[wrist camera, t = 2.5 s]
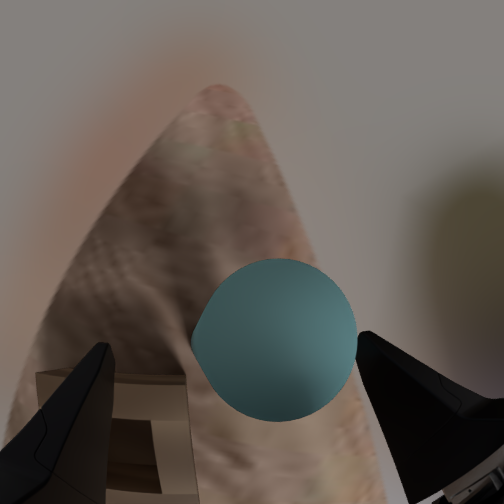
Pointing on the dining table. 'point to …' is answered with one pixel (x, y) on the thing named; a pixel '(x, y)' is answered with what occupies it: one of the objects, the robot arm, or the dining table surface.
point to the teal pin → (276, 340)
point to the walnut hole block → (144, 438)
